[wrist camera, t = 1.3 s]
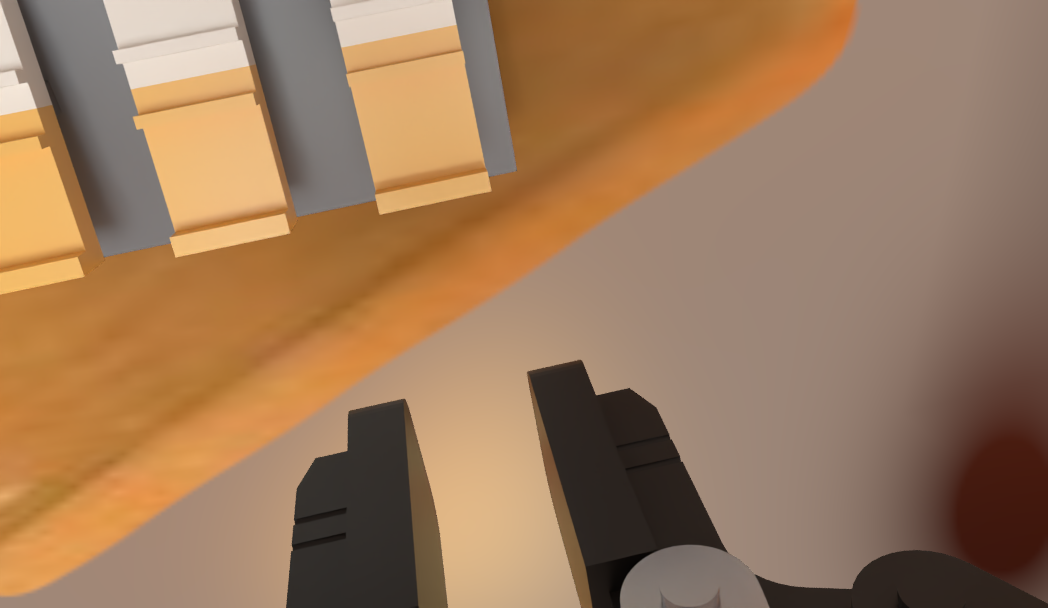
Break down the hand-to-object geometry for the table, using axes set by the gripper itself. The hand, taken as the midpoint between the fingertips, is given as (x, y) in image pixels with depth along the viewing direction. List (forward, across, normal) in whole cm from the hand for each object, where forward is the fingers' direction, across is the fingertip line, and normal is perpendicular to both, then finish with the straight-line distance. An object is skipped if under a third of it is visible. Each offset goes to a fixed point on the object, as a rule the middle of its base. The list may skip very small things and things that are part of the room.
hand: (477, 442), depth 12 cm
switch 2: (+14, 0, -2) cm, 14 cm away
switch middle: (+14, +5, -2) cm, 15 cm away
